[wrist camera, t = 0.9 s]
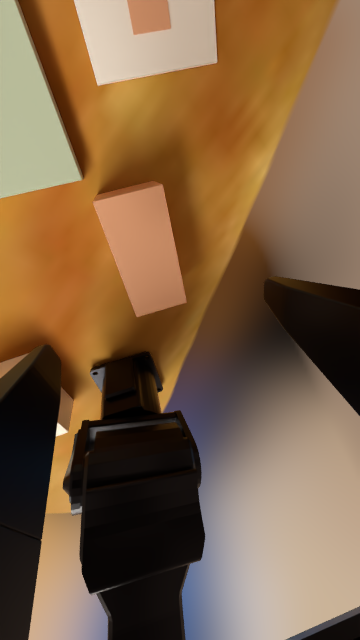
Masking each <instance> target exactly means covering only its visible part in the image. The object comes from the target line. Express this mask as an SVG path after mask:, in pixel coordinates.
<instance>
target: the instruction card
mask: <svg viewBox="0 0 360 640" xmlns="http://www.w3.org/2000/svg"><path fill="white" fill-rule="evenodd" d="M74 2H75V6H76V10H77V13H78V17H79V20H80V24H81V28H82V31H83V35H84V38H85V42H86V45H87V49H88V53H89V56H90V60H91V63H92V67H93V71H94V74H95V78H96V81H97V85H98V86H99V85H104V84H110V83H115V82H120V81H126V80H131V79H136V78H141V77H147V76H152V75H157V74H163V73H168V72H173V71H178V70H184V69H189V68H194V67H199V66H205V65H210V64H215V63H217V47H216V27H215V8H214V0H74Z"/></svg>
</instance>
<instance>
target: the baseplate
mask: <svg viewBox="0 0 360 640" xmlns="http://www.w3.org/2000/svg"><path fill="white" fill-rule="evenodd" d="M83 179H84V178H83V175H82V172H81V170H80V167H79V164H78V162H77V159H76V156H75V153H74V151H73V148H72V145H71V143H70V140H69V137H68V134H67V132H66V129H65V126H64V124H63V121H62V118H61V116H60V113H59V110H58V107H57V105H56V102H55V99H54V97H53V94H52V91H51V89H50V86H49V83H48V80H47V78H46V75H45V72H44V70H43V67H42V64H41V61H40V59H39V56H38V53H37V51H36V48H35V45H34V43H33V40H32V37H31V34H30V32H29V29H28V26H27V24H26V21H25V18H24V16H23V13H22V10H21V7H20V5H19V2H18V0H0V198H4V197H8V196H13V195H17V194H21V193H26V192H30V191H35V190H39V189H44V188H48V187H52V186H57V185H61V184H66V183H70V182H75V181H79V180H83Z"/></svg>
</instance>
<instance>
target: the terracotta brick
mask: <svg viewBox="0 0 360 640" xmlns="http://www.w3.org/2000/svg"><path fill="white" fill-rule="evenodd" d="M93 204H94V207H95V210H96V212H97V215H98V217H99V220H100V223H101V225H102V228H103V230H104V233H105V236H106V238H107V241H108V244H109V246H110V249H111V251H112V254H113V257H114V259H115V262H116V264H117V267H118V270H119V272H120V275H121V278H122V280H123V283H124V285H125V288H126V291H127V293H128V296H129V299H130V301H131V304H132V306H133V309H134V312H135V314H136V317H139V316H143V315H146V314H150V313H153V312H156V311H160V310H163V309H166V308H170V307H173V306H177V305H180V304H183V303H187V301H186V296H185V291H184V286H183V281H182V276H181V272H180V267H179V262H178V257H177V252H176V247H175V242H174V237H173V232H172V227H171V223H170V218H169V213H168V208H167V203H166V198H165V193H164V188H163V184H160V183H158V182H155V181H150V182H146V183H142V184H138V185H134V186H130V187H126V188H122V189H118V190H114V191H110V192H106V193H102V194H98V195H97V196H96V197H95V199H94V201H93Z"/></svg>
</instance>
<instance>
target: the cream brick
mask: <svg viewBox="0 0 360 640" xmlns="http://www.w3.org/2000/svg"><path fill="white" fill-rule="evenodd" d="M28 354H29V353H27V354H24V355H21V356H18V357H15V358H12V359H9V360H6V361H3V362H0V378H1V377H2V376H4V375H5V374H6V373H7V372H8V371H9V370H10V369H12V368H13V367H14V366H15V365H16V364H17V363H18V362H20V361H21V360H22V359H23V358H24V357H25V356H26V355H28ZM73 401H74V400H73V399H72V398H71V397H70V396H69V395H68V394H67V393H66V391H65V390H64V389H63V388H62V387H61V400H60V408H59V416H58V423H57V430H56V436H59V435H61V434H64V433H67V432H68V430H69V425H70V419H71V413H72V407H73Z"/></svg>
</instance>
